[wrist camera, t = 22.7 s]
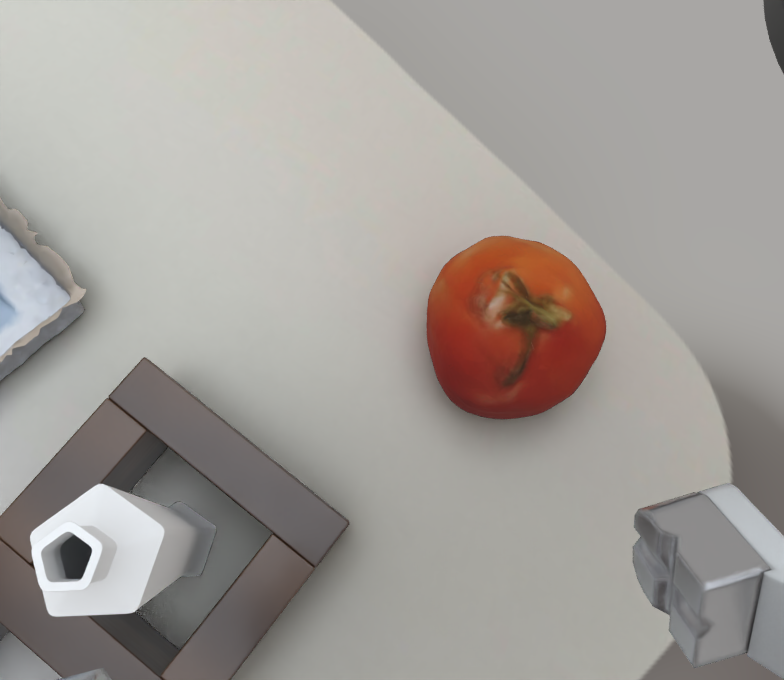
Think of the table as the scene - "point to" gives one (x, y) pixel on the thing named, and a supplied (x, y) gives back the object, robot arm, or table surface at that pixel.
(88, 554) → the perfume bottle
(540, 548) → the table surface
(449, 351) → the tomato
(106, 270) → the table surface
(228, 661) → the rack
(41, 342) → the picture frame
